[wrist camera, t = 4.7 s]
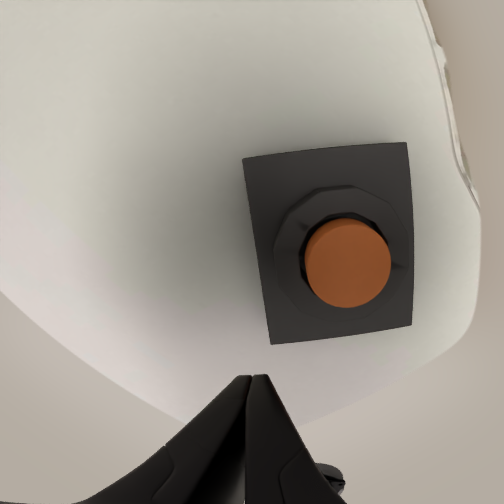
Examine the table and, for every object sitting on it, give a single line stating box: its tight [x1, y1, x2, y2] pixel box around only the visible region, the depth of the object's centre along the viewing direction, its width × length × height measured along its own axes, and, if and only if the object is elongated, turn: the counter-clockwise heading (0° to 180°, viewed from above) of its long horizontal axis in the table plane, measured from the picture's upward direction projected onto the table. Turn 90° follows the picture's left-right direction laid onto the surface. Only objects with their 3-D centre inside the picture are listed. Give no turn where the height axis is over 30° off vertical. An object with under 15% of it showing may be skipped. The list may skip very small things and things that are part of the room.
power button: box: [305, 218, 391, 308], centre depth 15 cm, size 4×4×2 cm
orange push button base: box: [242, 142, 414, 345], centre depth 17 cm, size 11×9×4 cm
